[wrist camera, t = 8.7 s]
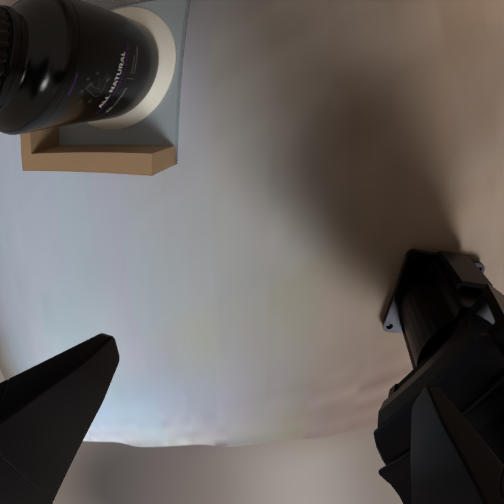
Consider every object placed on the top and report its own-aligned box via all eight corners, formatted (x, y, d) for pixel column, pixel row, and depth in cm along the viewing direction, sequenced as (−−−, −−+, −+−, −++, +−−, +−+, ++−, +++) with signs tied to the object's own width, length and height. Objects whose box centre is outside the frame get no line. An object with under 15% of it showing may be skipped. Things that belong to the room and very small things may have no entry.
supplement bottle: (169, 105, 17) (2, 127, 6) (83, 128, 18) (-67, 174, 7) (159, 5, 14) (9, -54, 3) (74, 39, 15) (-72, 37, 5)
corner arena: (177, 163, 19) (151, 175, 16) (53, 159, 20) (22, 170, 17) (189, -2, 14) (166, -20, 11) (58, 26, 15) (27, 22, 12)
